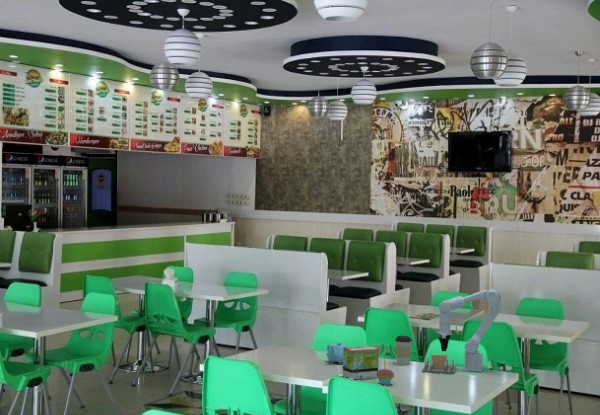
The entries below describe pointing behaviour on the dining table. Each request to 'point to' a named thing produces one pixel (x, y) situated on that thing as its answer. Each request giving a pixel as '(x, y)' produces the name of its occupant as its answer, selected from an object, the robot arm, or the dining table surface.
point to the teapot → (336, 352)
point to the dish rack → (446, 369)
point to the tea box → (360, 362)
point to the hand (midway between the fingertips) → (444, 349)
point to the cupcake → (385, 375)
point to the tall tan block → (438, 361)
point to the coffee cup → (403, 350)
